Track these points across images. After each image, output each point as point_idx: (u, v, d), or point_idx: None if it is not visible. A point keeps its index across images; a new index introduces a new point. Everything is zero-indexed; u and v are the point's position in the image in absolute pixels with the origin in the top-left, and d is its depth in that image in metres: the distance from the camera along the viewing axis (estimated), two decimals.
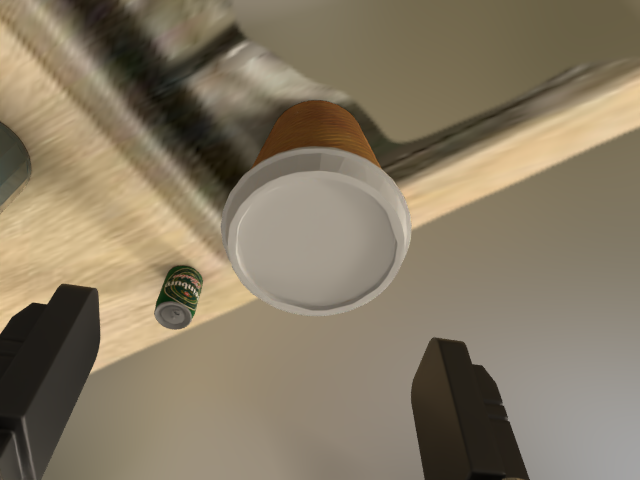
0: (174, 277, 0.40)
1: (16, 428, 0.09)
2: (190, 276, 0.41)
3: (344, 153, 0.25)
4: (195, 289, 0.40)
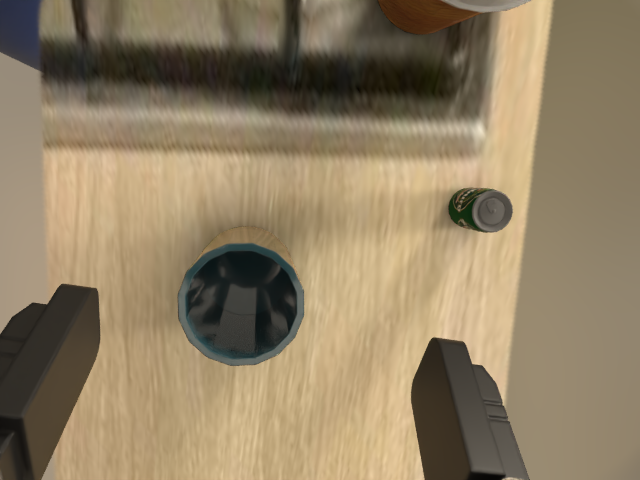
0: (457, 201, 0.36)
1: (16, 428, 0.09)
2: (466, 189, 0.37)
3: None
4: None
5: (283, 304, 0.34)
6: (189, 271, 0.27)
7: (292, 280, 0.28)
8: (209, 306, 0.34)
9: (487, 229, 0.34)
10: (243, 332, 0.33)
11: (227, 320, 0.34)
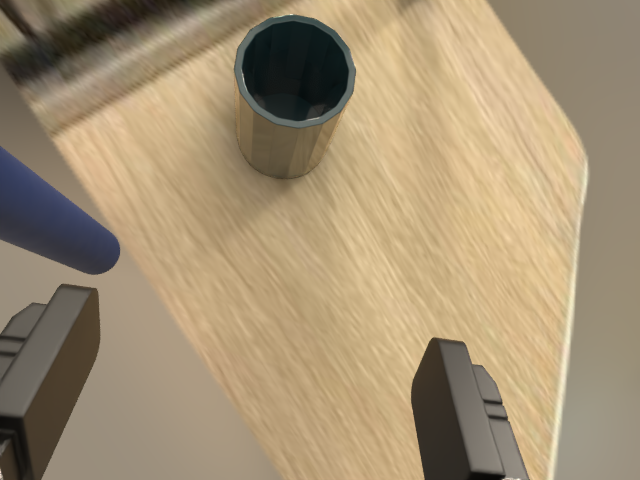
0: None
1: (16, 428, 0.09)
2: None
3: None
4: None
5: None
6: (235, 67, 0.28)
7: (321, 28, 0.29)
8: None
9: None
10: None
11: None
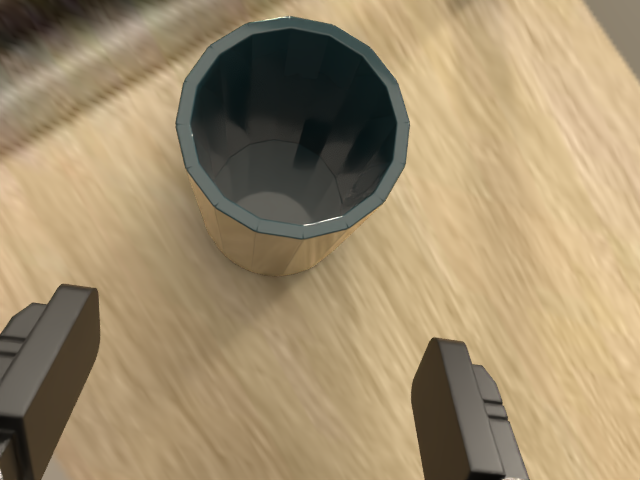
0: None
1: (16, 428, 0.09)
2: None
3: None
4: None
5: (352, 185, 0.22)
6: (179, 121, 0.14)
7: (343, 42, 0.16)
8: None
9: None
10: None
11: None
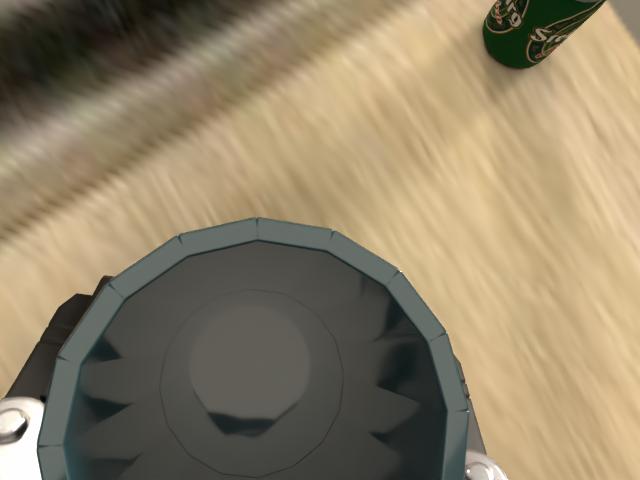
0: (501, 20, 0.19)
1: None
2: None
3: None
4: None
5: (360, 380, 0.15)
6: (43, 439, 0.08)
7: (351, 262, 0.09)
8: None
9: None
10: None
11: None
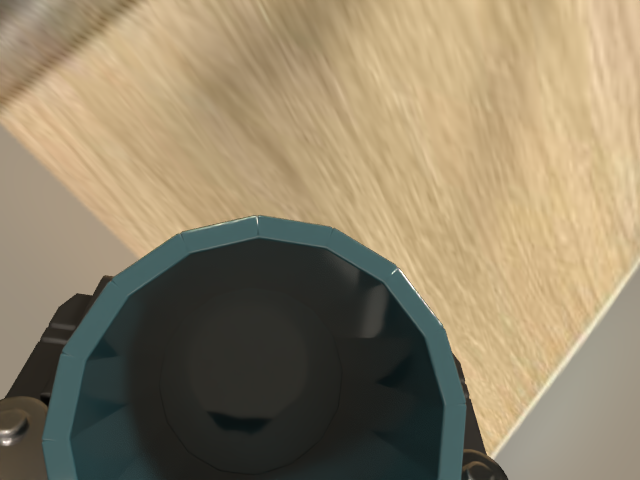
0: None
1: None
2: None
3: None
4: None
5: (358, 377, 0.15)
6: (48, 434, 0.08)
7: (350, 259, 0.09)
8: None
9: None
10: None
11: None
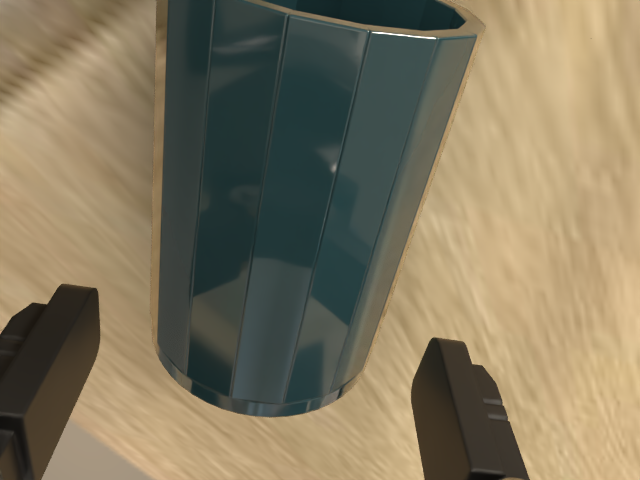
0: None
1: (16, 428, 0.09)
2: None
3: None
4: None
5: None
6: None
7: None
8: None
9: None
10: None
11: None
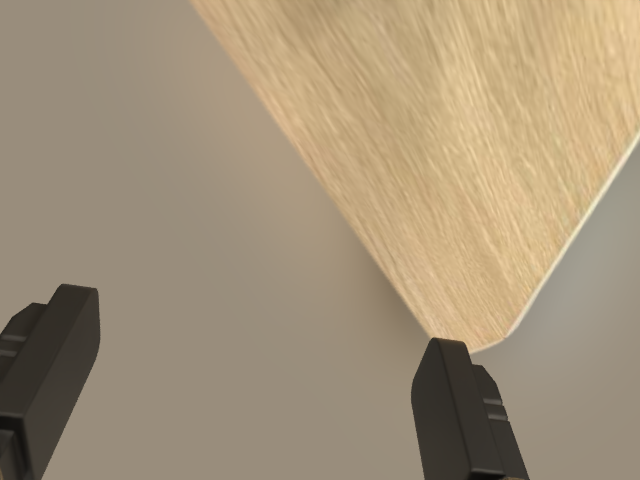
0: None
1: (16, 428, 0.09)
2: None
3: None
4: None
5: None
6: None
7: None
8: None
9: None
10: None
11: None
